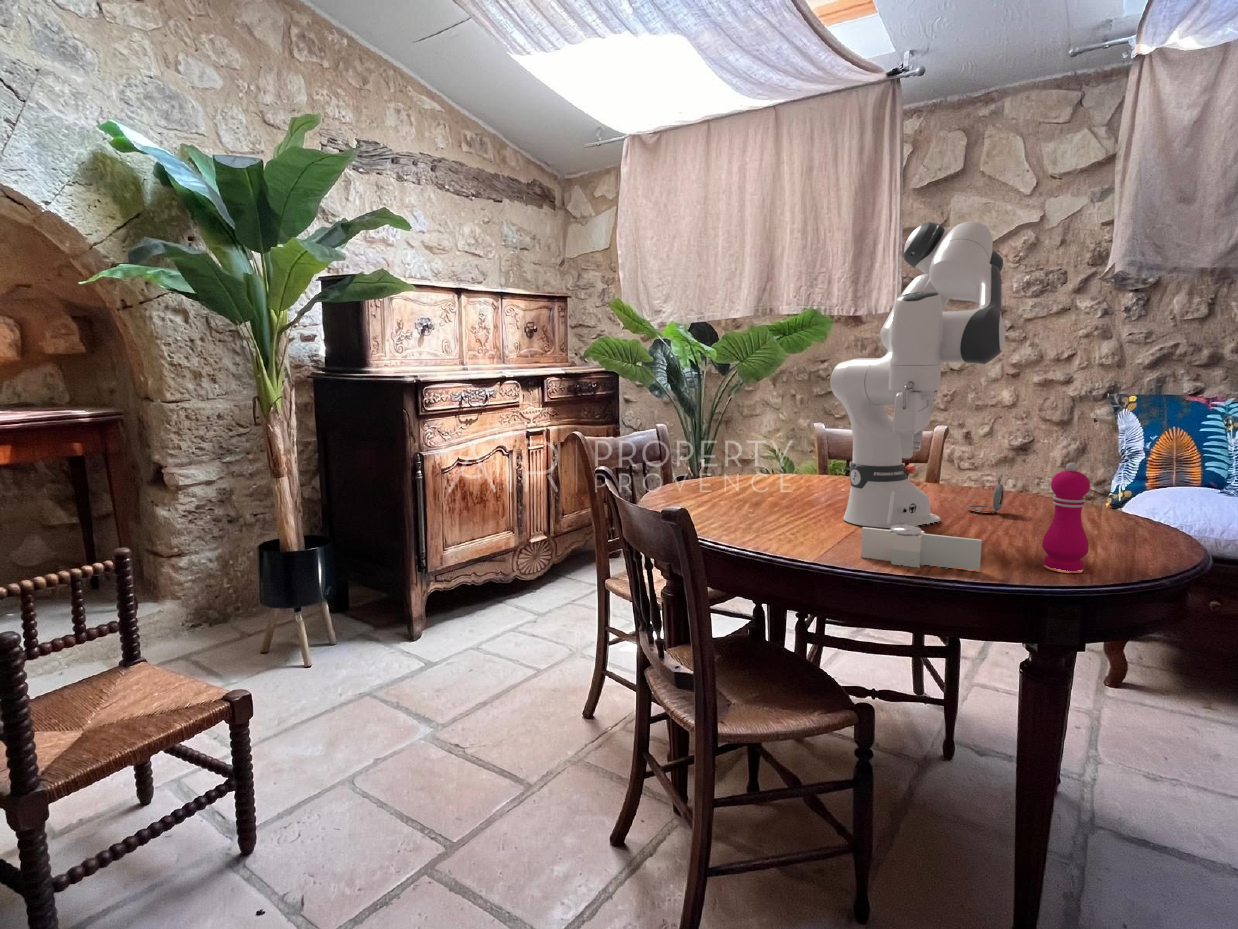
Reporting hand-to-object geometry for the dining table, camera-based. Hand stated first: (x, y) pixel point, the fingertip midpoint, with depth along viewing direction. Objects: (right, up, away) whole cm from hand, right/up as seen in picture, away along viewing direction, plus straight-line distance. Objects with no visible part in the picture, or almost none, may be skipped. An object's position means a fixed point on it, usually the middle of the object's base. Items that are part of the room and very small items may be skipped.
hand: (910, 454), depth 132 cm
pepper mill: (+27, -22, -2) cm, 35 cm away
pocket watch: (+38, -14, +44) cm, 60 cm away
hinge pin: (0, -20, +3) cm, 21 cm away
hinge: (+2, -21, +2) cm, 21 cm away
